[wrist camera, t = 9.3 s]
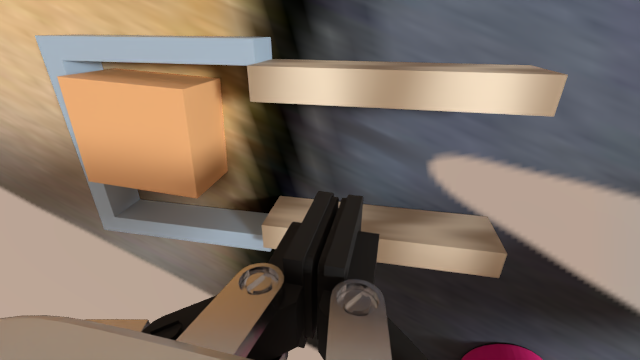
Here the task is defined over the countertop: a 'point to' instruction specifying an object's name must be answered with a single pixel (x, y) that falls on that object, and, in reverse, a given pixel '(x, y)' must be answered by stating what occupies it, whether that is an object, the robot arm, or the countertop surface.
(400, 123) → the countertop surface
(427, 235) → the pair of wooden slats
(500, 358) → the pepper mill
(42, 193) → the countertop surface
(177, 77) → the block
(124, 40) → the bay
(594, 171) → the countertop surface
